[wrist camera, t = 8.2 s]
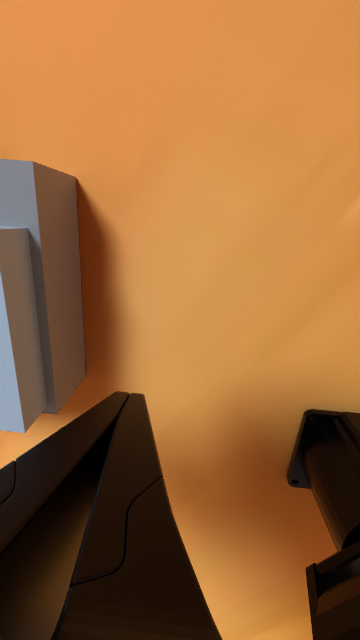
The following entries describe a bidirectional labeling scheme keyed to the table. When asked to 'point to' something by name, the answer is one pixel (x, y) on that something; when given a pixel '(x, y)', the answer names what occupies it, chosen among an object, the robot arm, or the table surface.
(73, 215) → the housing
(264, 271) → the table surface
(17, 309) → the cover
